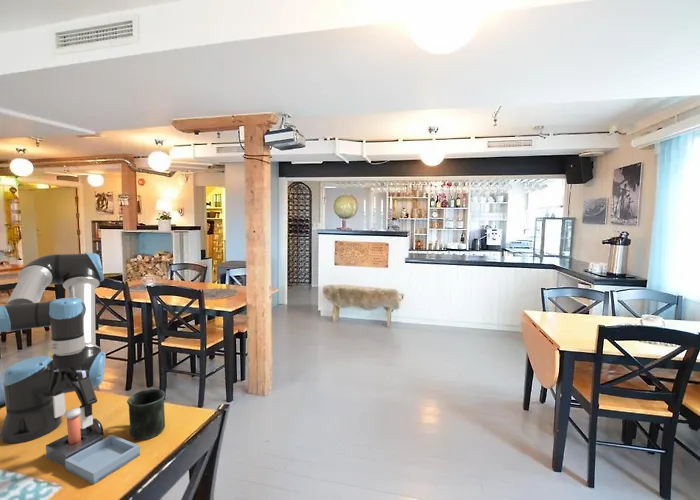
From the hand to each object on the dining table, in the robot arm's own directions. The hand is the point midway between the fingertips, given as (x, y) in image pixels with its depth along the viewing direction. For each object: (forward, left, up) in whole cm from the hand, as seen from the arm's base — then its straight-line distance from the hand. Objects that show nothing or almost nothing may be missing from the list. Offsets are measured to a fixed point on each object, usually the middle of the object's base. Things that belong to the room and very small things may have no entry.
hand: (73, 420), depth 107 cm
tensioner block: (0, 0, -10) cm, 10 cm away
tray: (+12, +1, -10) cm, 16 cm away
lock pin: (0, 0, -10) cm, 10 cm away
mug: (+8, +17, -11) cm, 22 cm away
